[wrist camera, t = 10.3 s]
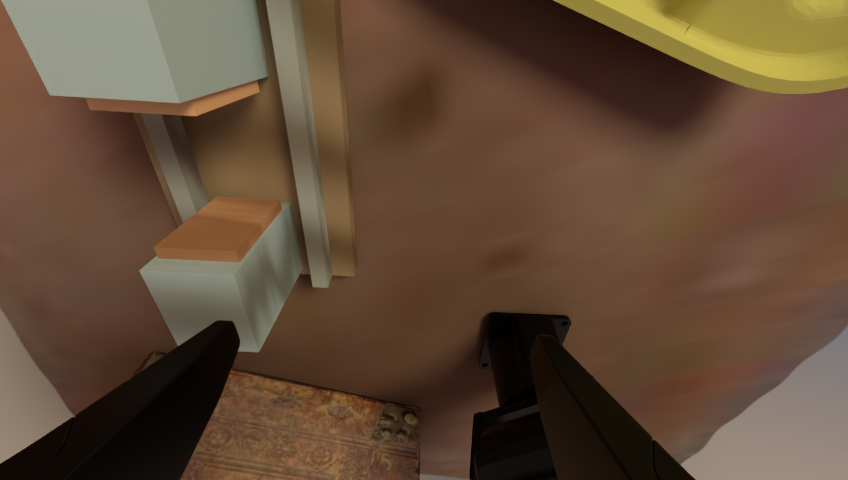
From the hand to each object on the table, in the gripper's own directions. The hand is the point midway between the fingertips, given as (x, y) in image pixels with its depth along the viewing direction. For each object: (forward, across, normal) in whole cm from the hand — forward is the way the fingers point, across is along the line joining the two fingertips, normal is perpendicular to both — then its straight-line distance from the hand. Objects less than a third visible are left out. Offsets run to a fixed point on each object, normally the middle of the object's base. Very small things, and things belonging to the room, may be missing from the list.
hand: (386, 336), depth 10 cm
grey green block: (+11, +9, -8) cm, 16 cm away
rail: (+12, +9, -2) cm, 16 cm away
